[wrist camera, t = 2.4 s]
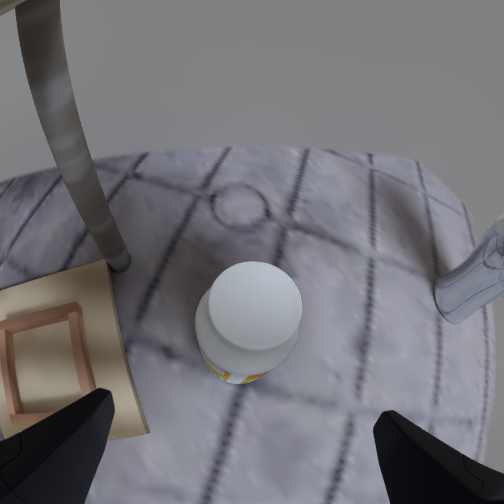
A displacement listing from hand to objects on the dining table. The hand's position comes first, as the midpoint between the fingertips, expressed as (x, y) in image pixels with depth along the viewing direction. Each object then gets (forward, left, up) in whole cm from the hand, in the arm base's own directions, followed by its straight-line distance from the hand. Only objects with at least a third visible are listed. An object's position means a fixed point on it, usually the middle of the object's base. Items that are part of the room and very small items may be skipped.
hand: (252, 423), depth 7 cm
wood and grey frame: (+12, +9, -11) cm, 19 cm away
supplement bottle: (+3, -4, -12) cm, 13 cm away
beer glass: (-11, -23, -12) cm, 28 cm away
